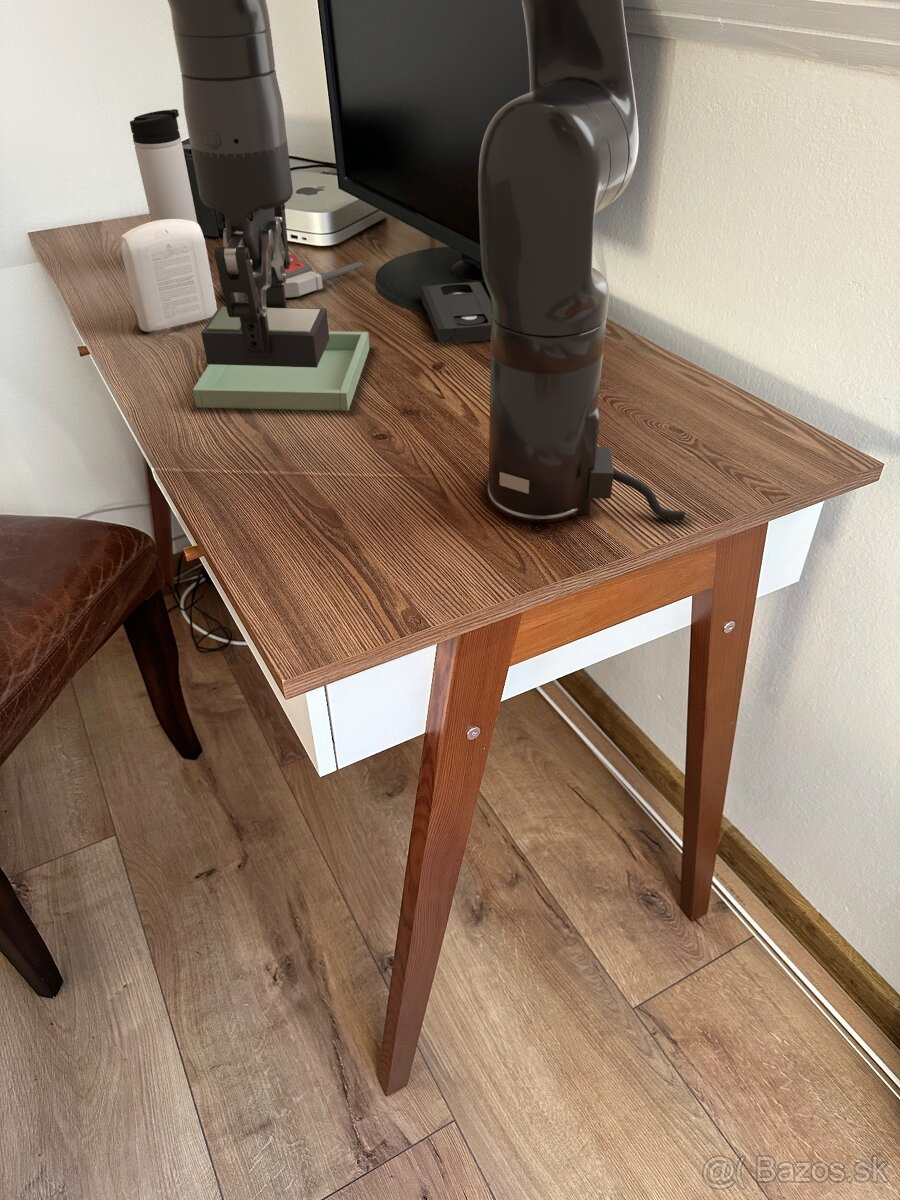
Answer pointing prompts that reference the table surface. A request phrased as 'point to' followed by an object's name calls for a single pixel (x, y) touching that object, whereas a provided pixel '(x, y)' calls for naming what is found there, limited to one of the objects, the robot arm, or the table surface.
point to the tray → (289, 380)
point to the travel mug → (163, 165)
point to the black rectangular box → (291, 336)
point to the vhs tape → (458, 311)
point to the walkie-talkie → (306, 277)
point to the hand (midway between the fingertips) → (268, 338)
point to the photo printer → (168, 273)
